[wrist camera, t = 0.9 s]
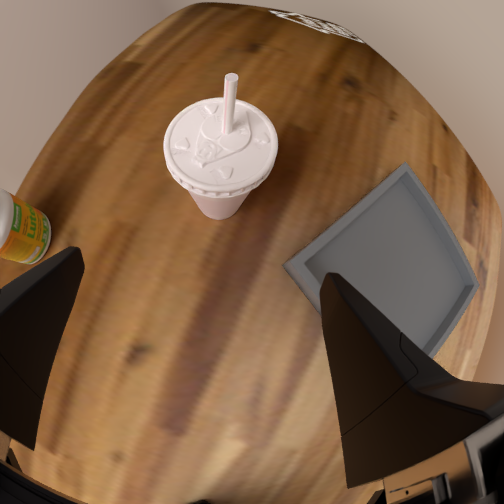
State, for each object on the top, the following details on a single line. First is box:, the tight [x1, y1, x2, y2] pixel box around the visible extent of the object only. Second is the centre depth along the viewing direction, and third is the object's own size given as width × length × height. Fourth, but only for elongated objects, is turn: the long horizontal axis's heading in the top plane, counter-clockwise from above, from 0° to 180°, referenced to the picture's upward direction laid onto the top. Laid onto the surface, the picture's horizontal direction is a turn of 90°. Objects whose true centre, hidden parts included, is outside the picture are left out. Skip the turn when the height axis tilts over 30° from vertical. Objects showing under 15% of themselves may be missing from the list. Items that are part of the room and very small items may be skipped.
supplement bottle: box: [0, 189, 51, 264], centre depth 16 cm, size 5×5×10 cm
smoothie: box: [164, 73, 278, 220], centre depth 16 cm, size 6×6×14 cm
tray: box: [282, 162, 479, 359], centre depth 23 cm, size 17×17×2 cm
